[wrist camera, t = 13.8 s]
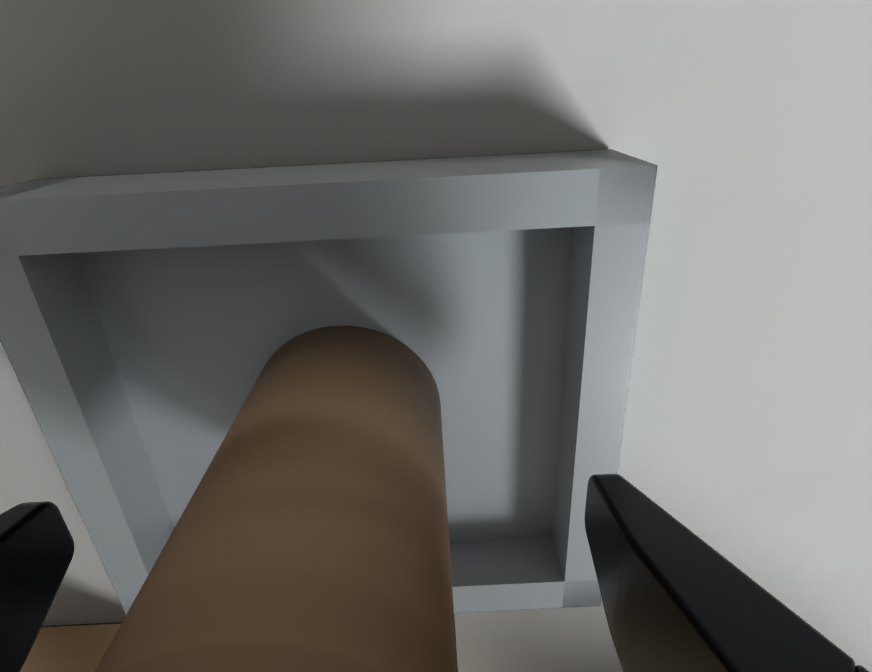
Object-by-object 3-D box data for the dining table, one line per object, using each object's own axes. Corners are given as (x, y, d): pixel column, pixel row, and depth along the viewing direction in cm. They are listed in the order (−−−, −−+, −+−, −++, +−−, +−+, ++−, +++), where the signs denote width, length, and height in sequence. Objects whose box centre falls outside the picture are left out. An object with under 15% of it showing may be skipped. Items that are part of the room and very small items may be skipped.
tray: (611, 148, 9) (657, 165, 7) (575, 533, 13) (600, 606, 11) (34, 179, 9) (-63, 202, 7) (172, 552, 13) (131, 628, 11)
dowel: (444, 475, 11) (468, 848, 6) (274, 485, 11) (133, 869, 6) (436, 319, 10) (456, 627, 4) (237, 331, 10) (-5, 656, 4)
